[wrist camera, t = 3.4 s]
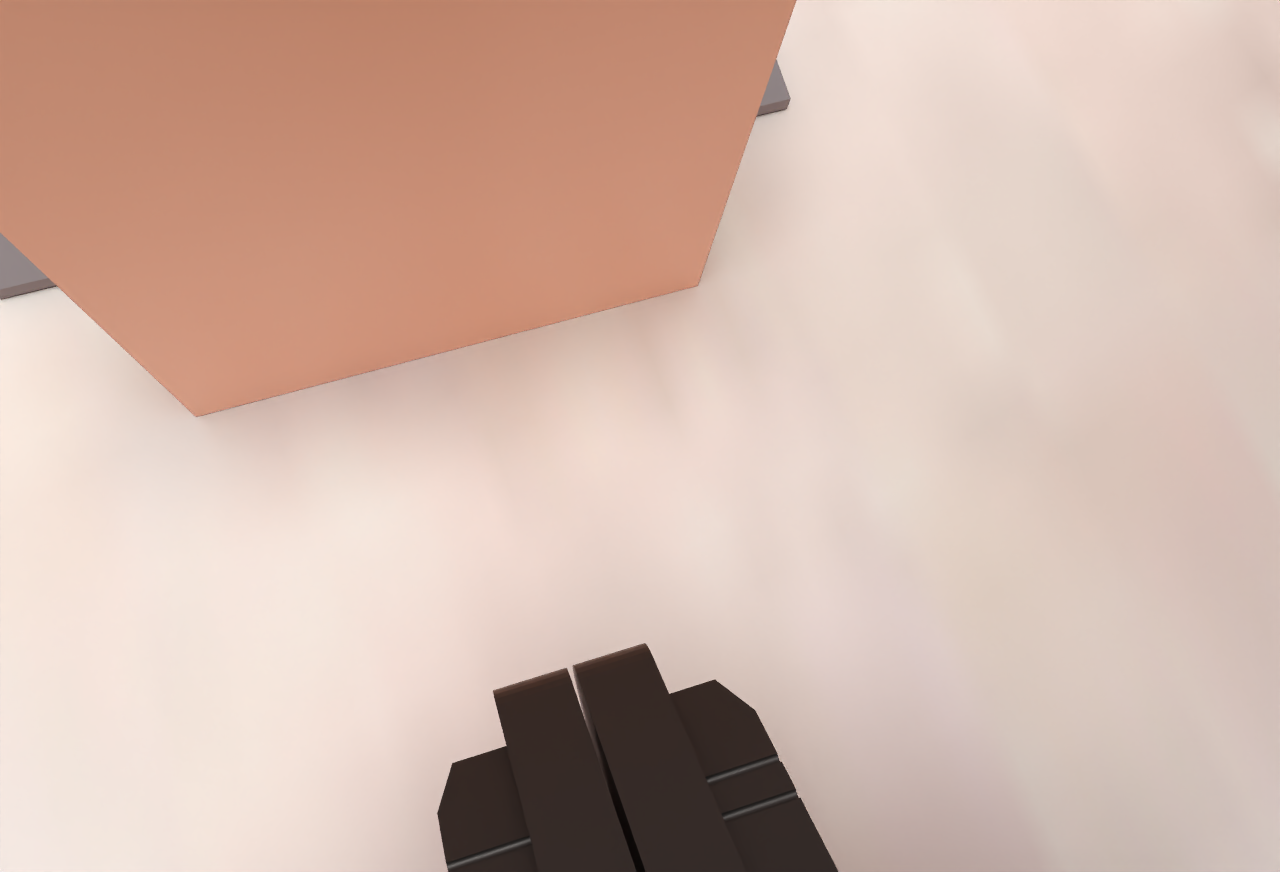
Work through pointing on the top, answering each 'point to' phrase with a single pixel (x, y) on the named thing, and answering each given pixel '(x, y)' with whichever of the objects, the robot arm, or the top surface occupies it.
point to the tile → (366, 170)
